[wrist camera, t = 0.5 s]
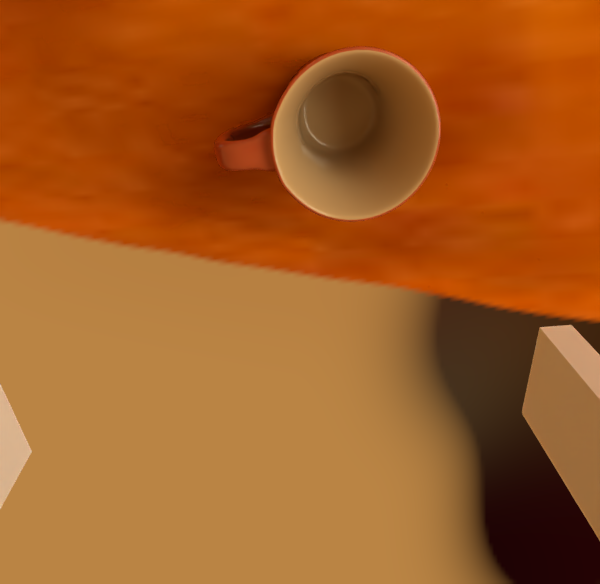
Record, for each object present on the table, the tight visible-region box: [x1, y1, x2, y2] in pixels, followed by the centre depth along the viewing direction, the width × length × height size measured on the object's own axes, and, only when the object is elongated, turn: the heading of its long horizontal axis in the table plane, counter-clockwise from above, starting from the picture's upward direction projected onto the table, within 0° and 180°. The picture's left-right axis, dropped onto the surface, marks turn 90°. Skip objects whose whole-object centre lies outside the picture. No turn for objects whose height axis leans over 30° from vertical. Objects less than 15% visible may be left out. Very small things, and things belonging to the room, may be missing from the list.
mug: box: [214, 46, 441, 222], centre depth 30 cm, size 12×9×10 cm
